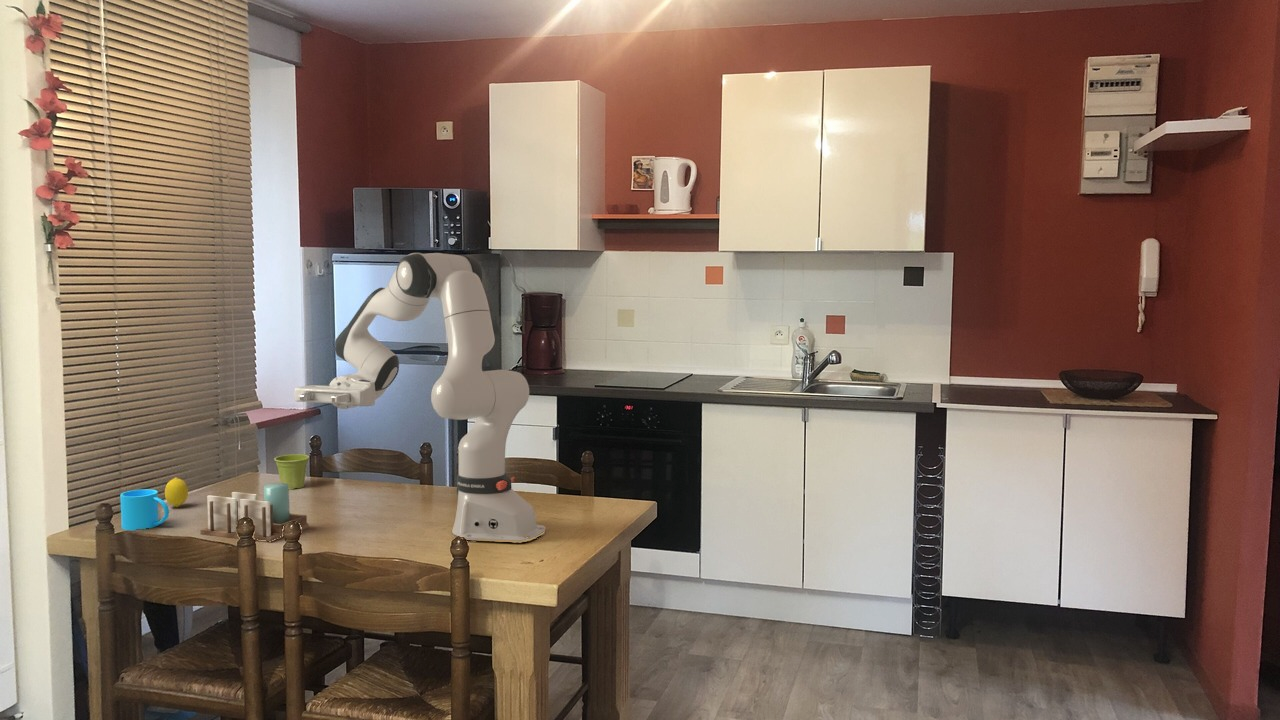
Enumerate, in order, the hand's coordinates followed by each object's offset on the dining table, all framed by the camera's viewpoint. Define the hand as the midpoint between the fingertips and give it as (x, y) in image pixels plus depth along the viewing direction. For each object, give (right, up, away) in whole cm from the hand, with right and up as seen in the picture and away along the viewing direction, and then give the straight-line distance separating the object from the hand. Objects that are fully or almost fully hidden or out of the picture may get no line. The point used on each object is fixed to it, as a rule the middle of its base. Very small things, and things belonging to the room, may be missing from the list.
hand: (317, 399), depth 255 cm
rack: (-11, -31, -12) cm, 35 cm away
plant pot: (-18, -27, +33) cm, 46 cm away
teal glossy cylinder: (-6, -30, -12) cm, 33 cm away
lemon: (-40, -29, +9) cm, 50 cm away
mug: (-38, -31, -9) cm, 50 cm away
